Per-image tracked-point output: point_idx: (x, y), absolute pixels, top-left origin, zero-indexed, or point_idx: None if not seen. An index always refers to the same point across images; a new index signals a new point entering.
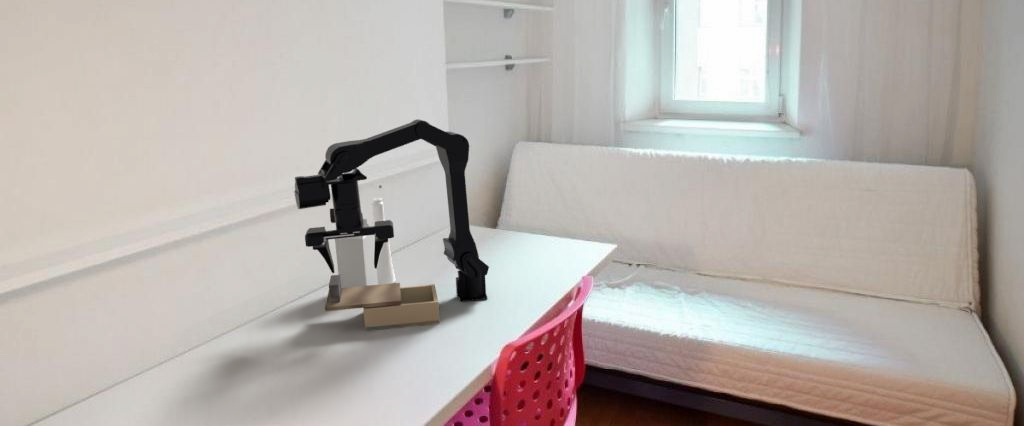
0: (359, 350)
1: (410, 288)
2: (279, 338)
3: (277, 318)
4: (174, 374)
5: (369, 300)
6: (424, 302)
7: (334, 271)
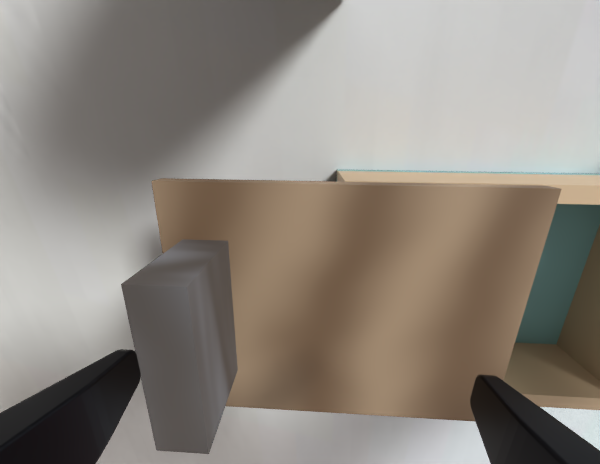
0: (312, 432)
1: (586, 202)
2: (93, 317)
3: (19, 153)
4: None
5: (361, 384)
6: (576, 401)
7: (133, 355)
